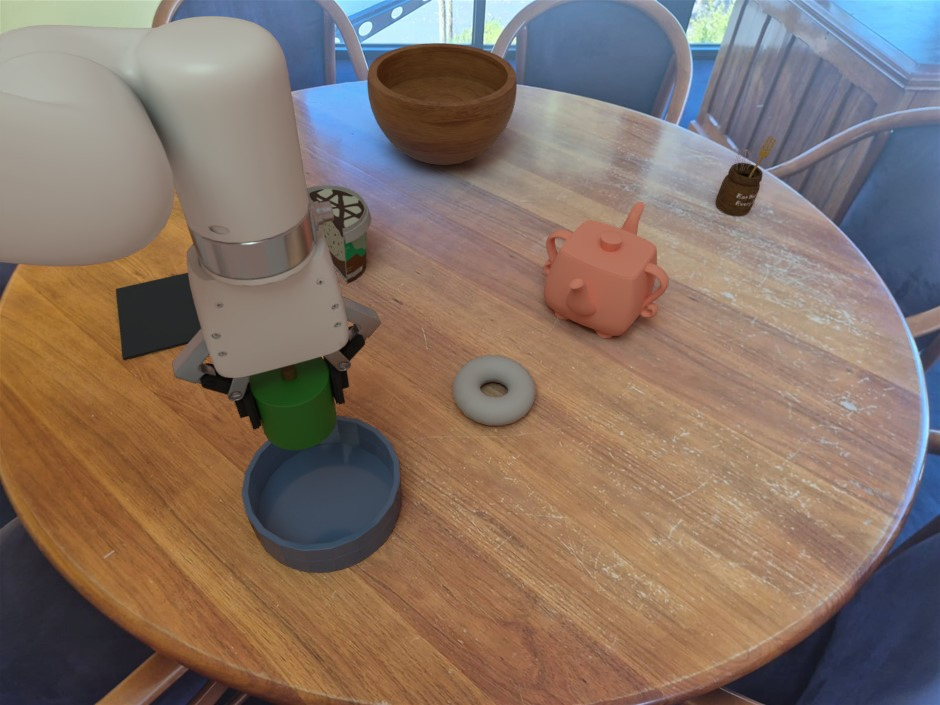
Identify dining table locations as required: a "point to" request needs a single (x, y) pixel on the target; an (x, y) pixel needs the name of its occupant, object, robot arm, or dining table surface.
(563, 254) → the teapot
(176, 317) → the mat
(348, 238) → the food container
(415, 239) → the dining table surface
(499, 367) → the donut
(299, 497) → the serving bowl
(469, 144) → the bowl
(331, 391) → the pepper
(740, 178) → the utensil holder
